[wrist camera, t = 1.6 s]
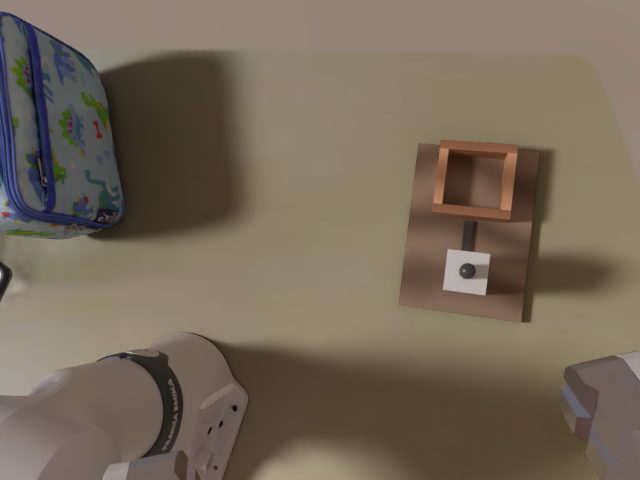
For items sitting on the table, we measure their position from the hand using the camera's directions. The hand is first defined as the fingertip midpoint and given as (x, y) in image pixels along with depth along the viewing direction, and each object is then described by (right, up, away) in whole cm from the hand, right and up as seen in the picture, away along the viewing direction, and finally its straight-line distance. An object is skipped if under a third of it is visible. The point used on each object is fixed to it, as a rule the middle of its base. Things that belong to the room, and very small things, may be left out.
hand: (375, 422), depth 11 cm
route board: (+17, +5, +50) cm, 53 cm away
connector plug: (+16, 0, +49) cm, 51 cm away
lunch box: (-35, +16, +64) cm, 75 cm away
